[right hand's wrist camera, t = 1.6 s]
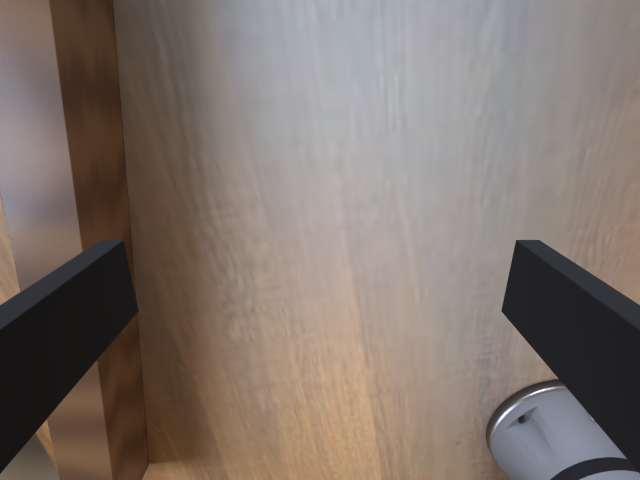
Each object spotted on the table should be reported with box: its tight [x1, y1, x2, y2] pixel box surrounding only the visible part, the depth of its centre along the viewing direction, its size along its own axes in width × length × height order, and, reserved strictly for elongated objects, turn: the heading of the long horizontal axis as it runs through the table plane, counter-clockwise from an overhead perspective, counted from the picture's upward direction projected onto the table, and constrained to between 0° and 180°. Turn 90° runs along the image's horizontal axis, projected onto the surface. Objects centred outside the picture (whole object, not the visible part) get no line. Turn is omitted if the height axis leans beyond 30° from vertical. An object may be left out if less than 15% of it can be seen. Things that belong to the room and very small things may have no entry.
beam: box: [0, 0, 149, 480], centre depth 34 cm, size 61×6×8 cm, turn 173°
